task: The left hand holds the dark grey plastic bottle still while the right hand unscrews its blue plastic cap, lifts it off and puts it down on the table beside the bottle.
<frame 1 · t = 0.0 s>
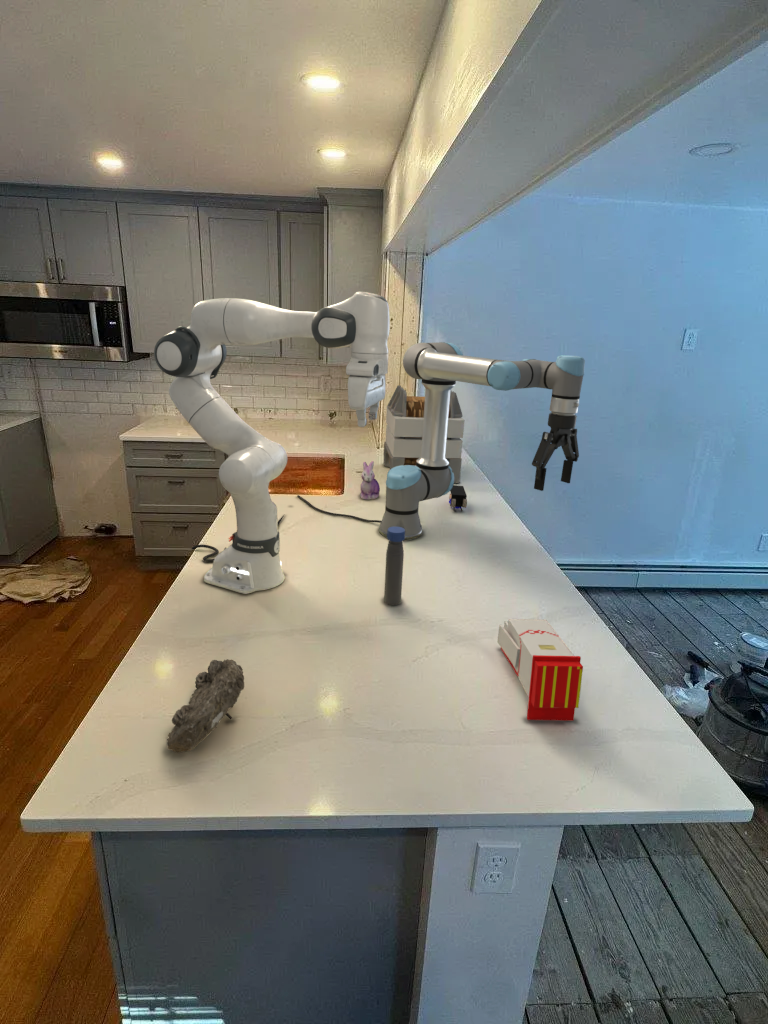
left hand: (367, 422, 139), 48 cm above the counter, tool pointing down, fingers open, 8 cm apart
right hand: (552, 485, 166), 28 cm above the counter, tool pointing down, fingers open, 13 cm apart
bottle: (392, 601, 154), on the counter
cap: (396, 530, 147), point 21 cm above the counter, screwed on, not yet turned
light boxy container: (419, 473, 275), on the counter
figurine: (369, 496, 237), on the counter
feather: (282, 518, 209), on the counter
figurine character: (456, 507, 229), on the counter
fossil: (212, 717, 108), on the counter
toy: (530, 678, 124), on the counter
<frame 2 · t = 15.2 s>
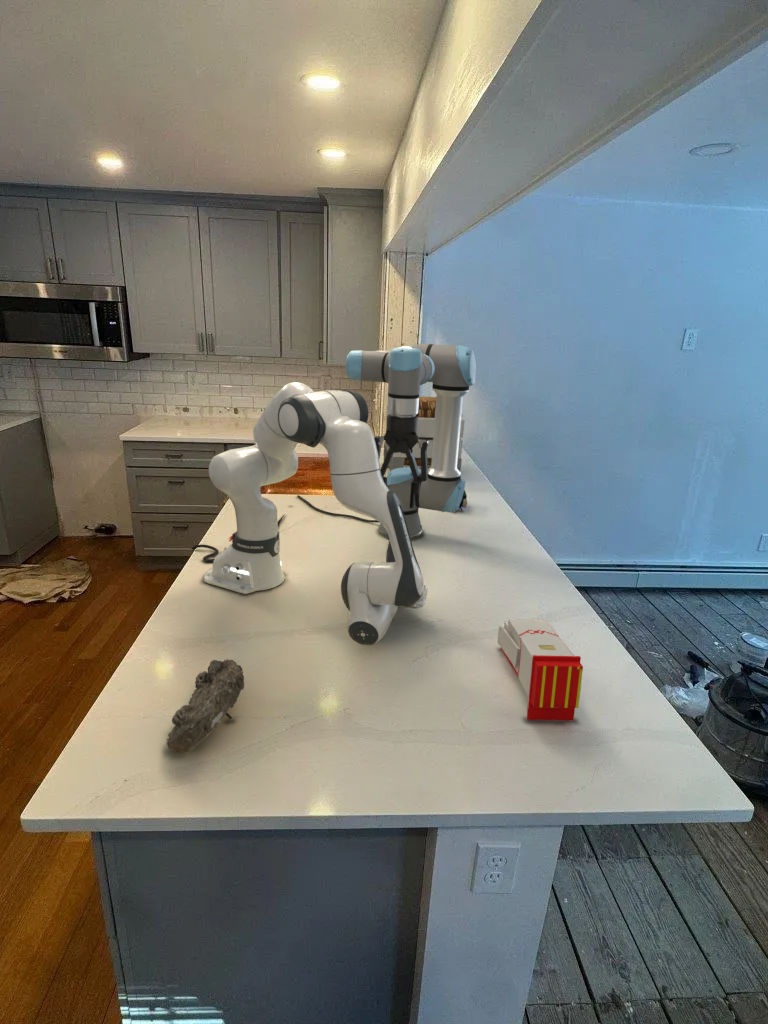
left hand: (394, 577, 152), 7 cm above the counter, tool horizontal, fingers closed on bottle, 4 cm apart
right hand: (397, 504, 144), 28 cm above the counter, tool pointing down, fingers open, 7 cm apart
bottle: (392, 601, 154), on the counter, touching left hand
everything else where it was.
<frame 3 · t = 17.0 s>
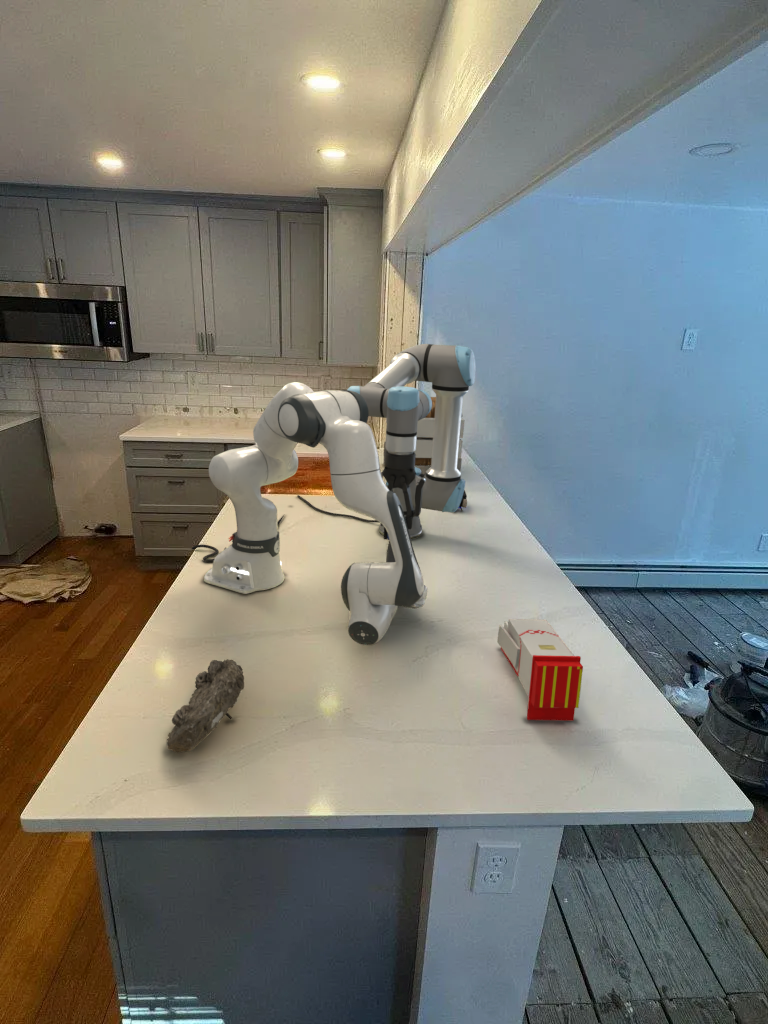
left hand: (394, 577, 152), 7 cm above the counter, tool horizontal, fingers closed on bottle, 4 cm apart
right hand: (395, 538, 148), 18 cm above the counter, tool pointing down, fingers closed on cap, 4 cm apart
bottle: (392, 601, 154), on the counter, touching left hand
cap: (396, 530, 147), point 21 cm above the counter, screwed on, not yet turned, touching right hand
everything else where it was.
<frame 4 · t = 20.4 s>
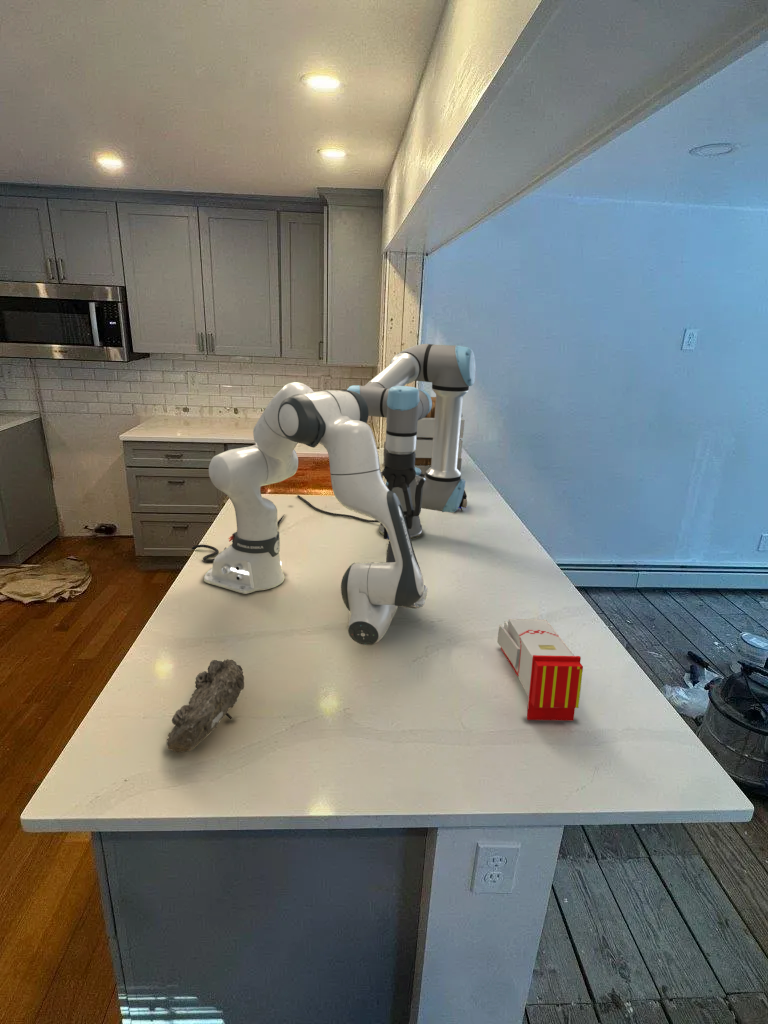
left hand: (394, 577, 152), 7 cm above the counter, tool horizontal, fingers closed on bottle, 4 cm apart
right hand: (395, 538, 148), 19 cm above the counter, tool pointing down, fingers closed on cap, 4 cm apart
bottle: (392, 601, 154), on the counter, touching left hand
cap: (396, 530, 147), point 21 cm above the counter, turned 112° so far, risen 0.1 cm, still on its thread, touching right hand
everything else where it was.
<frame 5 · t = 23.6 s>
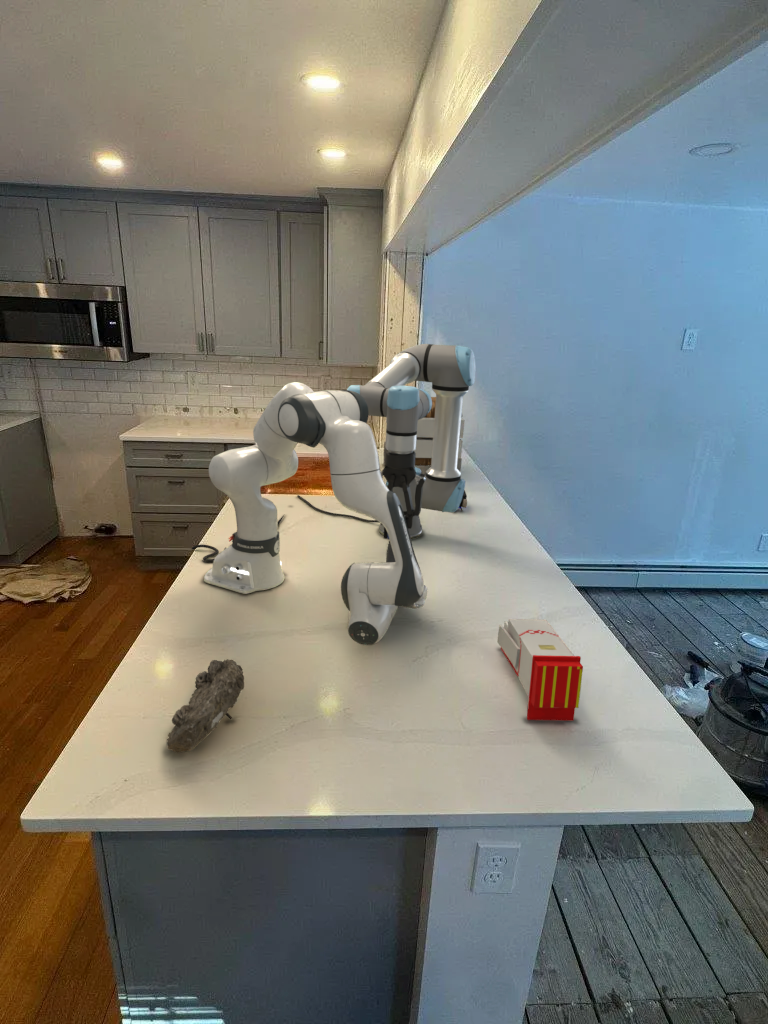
left hand: (394, 577, 152), 7 cm above the counter, tool horizontal, fingers closed on bottle, 4 cm apart
right hand: (395, 537, 147), 19 cm above the counter, tool pointing down, fingers closed on cap, 4 cm apart
bottle: (392, 601, 154), on the counter, touching left hand
cap: (396, 529, 147), point 21 cm above the counter, turned 223° so far, risen 0.2 cm, still on its thread, touching right hand
everything else where it was.
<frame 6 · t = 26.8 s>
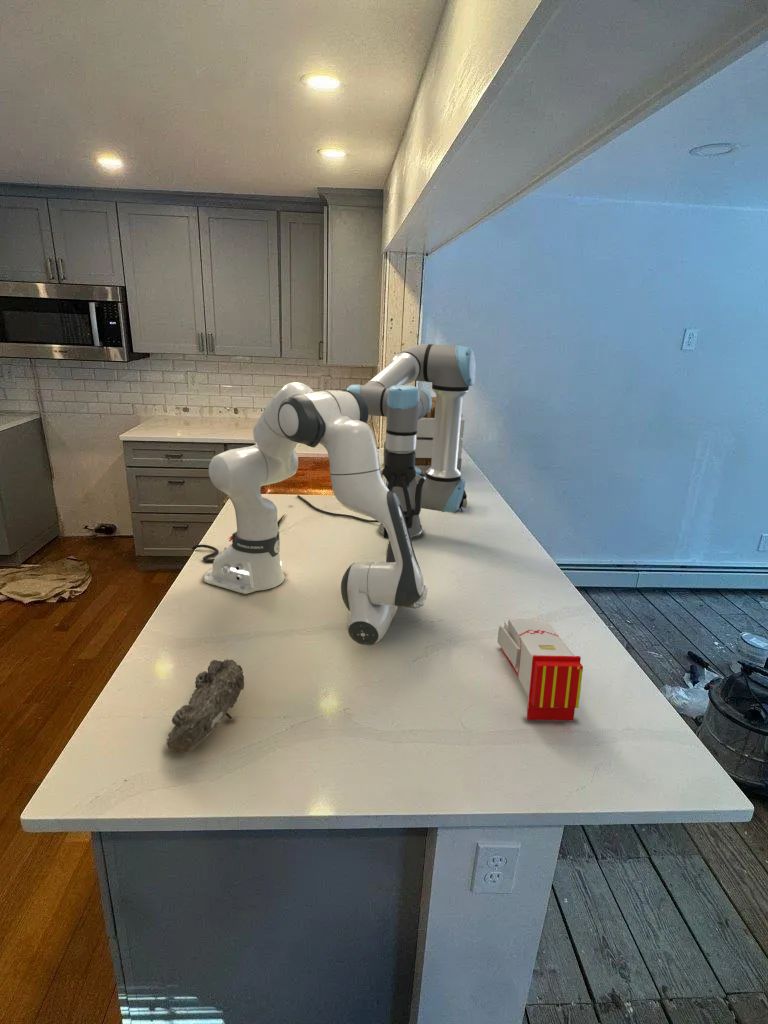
left hand: (394, 577, 152), 7 cm above the counter, tool horizontal, fingers closed on bottle, 4 cm apart
right hand: (395, 537, 147), 19 cm above the counter, tool pointing down, fingers closed on cap, 4 cm apart
bottle: (392, 601, 154), on the counter, touching left hand
cap: (396, 529, 147), point 21 cm above the counter, turned 335° so far, risen 0.3 cm, still on its thread, touching right hand
everything else where it was.
when the right hand's fingers open (1 cm above the counter, at t = 33.7 s): cap drops 1 cm, point 2 cm above the counter.
when the left hand's fingers open (7 cm above the counter, at t = 35.0 s): bottle stays where it is, on the counter.
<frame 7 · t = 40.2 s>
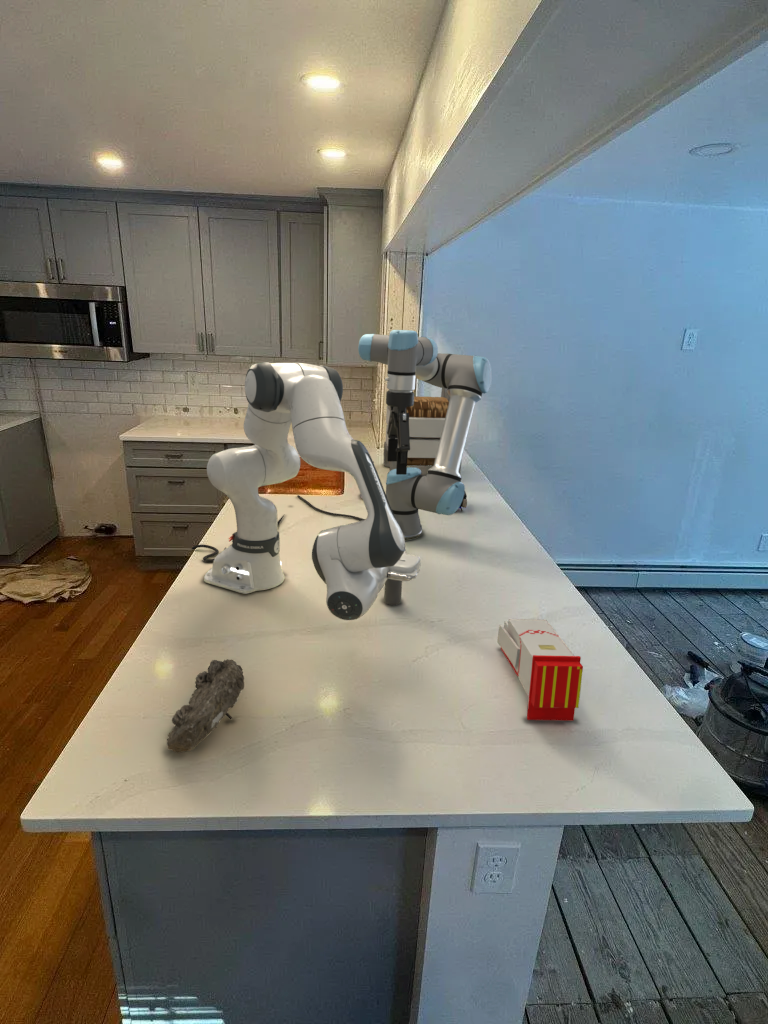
left hand: (383, 548, 135), 21 cm above the counter, tool horizontal, fingers open, 8 cm apart
right hand: (396, 467, 159), 33 cm above the counter, tool pointing down, fingers open, 13 cm apart
bottle: (392, 601, 154), on the counter
cap: (391, 566, 169), point 2 cm above the counter, off its thread
everything else where it was.
at the end: cap came off its thread; cap point 2.2 cm above the counter; the left hand is holding nothing; the right hand is holding nothing; bottle tilted 0°; bottle moved 0.0 cm from its start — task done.
